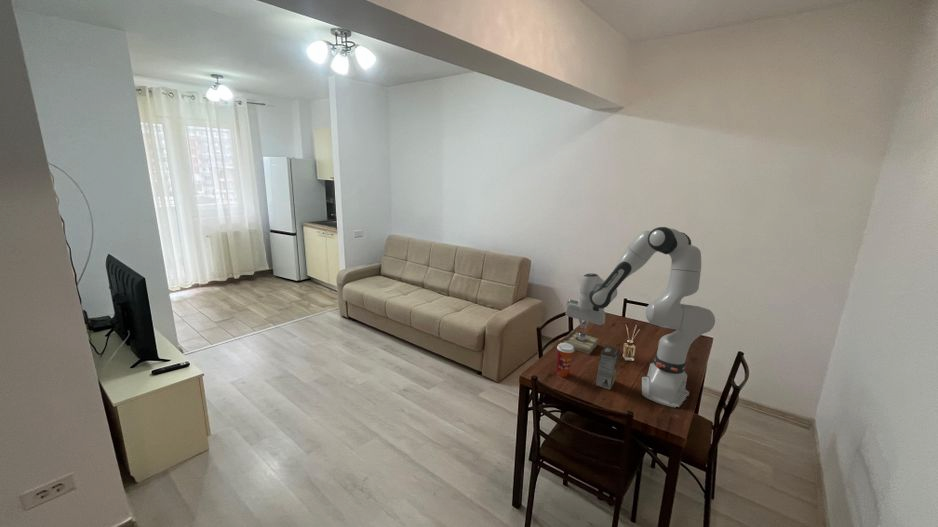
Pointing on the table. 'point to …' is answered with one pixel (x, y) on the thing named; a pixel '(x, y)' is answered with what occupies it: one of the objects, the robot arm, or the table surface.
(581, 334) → the bushing
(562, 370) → the paper cup
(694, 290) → the robot arm
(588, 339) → the block
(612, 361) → the coffee box
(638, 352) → the table surface
